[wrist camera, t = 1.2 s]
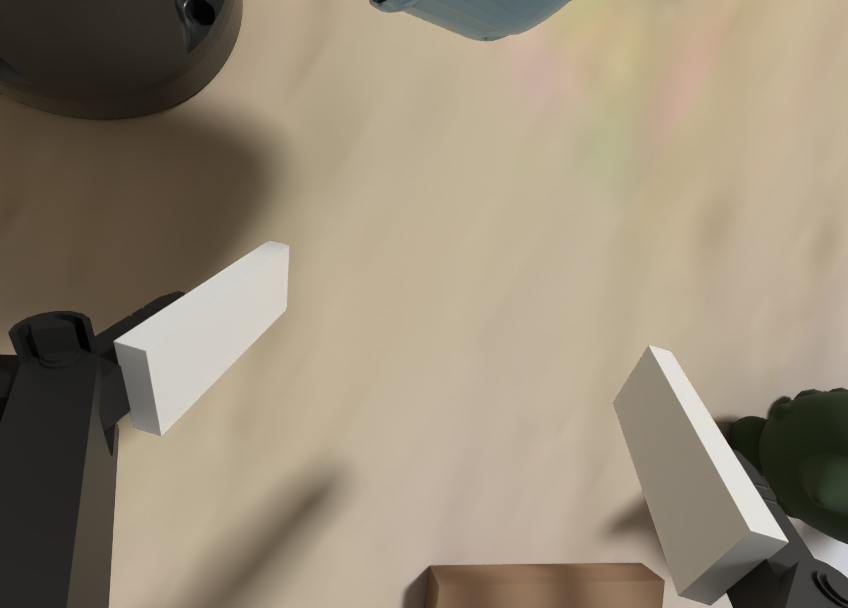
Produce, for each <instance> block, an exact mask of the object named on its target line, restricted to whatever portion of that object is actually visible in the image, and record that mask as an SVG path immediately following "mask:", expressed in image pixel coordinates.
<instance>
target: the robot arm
mask: <svg viewBox="0 0 848 608" xmlns="http://www.w3.org/2000/svg"><path fill="white" fill-rule="evenodd" d="M570 1H571V0H369V2H370V4H371V5H372V6H373V7H375V8H376V9H378V10H380V11H383V12H388V13H389V12H400V11H404V12H406V13H408V14H411V15H413V16H416V17H418V18H421V19H423V20H425V21H428V22H430V23H433V24H435V25H438V26H440V27H442V28H445V29H447V30H450V31H452V32H455V33H457V34H459V35H462V36H464V37H467V38H470V39H473V40H480V41H494V40H497V39H500V38H503V37H506V36H509V35H515V34H520V33H523V32H525V31H528V30H529V29H531V28H533V27H535V26H537V25H538V24H540V23H541V22H543V21H544V20H546V19H548V18H549V17H550V16H552V15H553V14H555V13H556V12H557V11H558V10H560V9H561V8H562V7H563V6H565V5H566V4H567V3H568V2H570ZM242 8H243V0H0V93H2V94H4V95H6V96H8V97H10V98H12V99H14V100H16V101H19V102H21V103H24V104H26V105H29V106H32V107H35V108H38V109H41V110H44V111H48V112H52V113H55V114H60V115H65V116H70V117H77V118H86V119H123V118H131V117H137V116H142V115H147V114H151V113H154V112H158V111H161V110H163V109H166V108H169V107H171V106H173V105H176V104H178V103H180V102H182V101H184V100H185V99H187V98H189V97H190V96H192V95H193V94H195V93H196V92H198V91H199V90H200V89H202V88H203V87H204V86H205V85H206V84H207V83H209V82H210V81H211V80H212V79H213V78H214V76H215V75H216V74H217V73H218V72H219V71H220V69H221V68H222V67H223V65H224V64H225V62H226V61H227V59H228V58H229V56H230V54H231V52H232V50H233V48H234V45H235V43H236V40H237V37H238V34H239V30H240V26H241V19H242ZM288 262H289V245H285V244H282V243H278V242H274V241H271V240H269V241H267V242H266V243H264V244H262V245H261V246H259V247H258V248H256V249H255V250H253V251H252V252H250V253H249V254H247V255H246V256H244V257H242V258H241V259H239V260H238V261H236V262H235V263H233V264H232V265H230V266H229V267H227V268H225V269H224V270H222V271H221V272H219V273H218V274H216V275H215V276H213V277H212V278H210V279H209V280H207V281H205V282H204V283H202V284H201V285H199V286H198V287H196V288H195V289H193V290H192V291H190V292H189V293H183V292H180V291H178V292H174V293H171V294H168V295H165V296H162V297H159V298H157V299H156V300H154V301H152V302H151V303H149V304H147V305H146V306H145V307H144V309H143V308H141V309H139V310H138V311H136V312H134V313H133V314H132V316H128V317H126V318H124V319H123V320H121V321H119V322H118V323H116V324H115V325H113V326H111V327H110V328H108V329H106V330H105V331H103V332H101V333H100V334H98V335H96V336H94V333H93V329H92V325H91V321H90V318H88V317H87V316H85V315H84V314H82V313H77V312H72V311H54V312H48V313H42V314H38V315H35V316H32V317H29V318H26V319H24V320H22V321H21V322H19V323H17V324H15V325H14V326H13V327H12V328H11V330H10V331H9V332H8V333H9V336H10V338H11V341H12V343H13V346H14V349H15V351H16V354H17V355H1V354H0V608H109V593H110V576H111V558H112V541H113V524H114V507H115V490H116V473H117V456H118V439H119V429H118V425H117V422H118V421H119V420H120V419H121V418H122V417H123V416H125V415H126V414H127V413H128V412H129V411H130V415H131V419H132V424H133V427H134V428H137V429H140V430H143V431H146V432H150V433H153V434H156V435H159V436H162V435H163V434H164V433H165V432H166V431H167V430H168V429H169V428H170V427H171V426H172V425H173V424H174V423H175V422H176V421H177V420H178V419H179V418H180V417H181V416H182V415H183V414H184V413H185V412H186V411H187V410H188V409H189V408H190V407H191V406H192V405H193V403H194V402H195V401H196V400H197V399H198V398H199V397H200V396H201V395H202V394H203V393H204V392H205V391H206V390H207V389H208V388H209V387H210V386H211V385H212V384H213V383H214V382H215V381H216V380H217V379H218V378H219V377H220V376H221V375H222V374H223V373H224V372H225V371H226V370H227V369H228V368H229V367H230V366H231V365H232V364H233V363H234V362H235V361H236V360H237V359H238V358H239V357H240V356H241V355H242V354H243V353H244V352H245V351H246V350H247V349H248V348H249V347H250V346H251V345H252V344H253V343H254V342H255V341H256V340H257V339H258V338H259V337H260V335H261V334H262V333H263V332H264V331H265V330H266V329H267V328H268V327H269V326H270V325H271V324H272V323H273V322H274V321H275V320H276V319H277V318H278V317H279V316H280V315H281V314H282V313H283V312H284V311H285V310H286V309H287V286H288ZM613 404H614V407H615V410H616V413H617V416H618V419H619V422H620V425H621V428H622V431H623V434H624V437H625V440H626V443H627V446H628V449H629V452H630V455H631V458H632V461H633V464H634V466H635V469H636V472H637V475H638V478H639V481H640V484H641V487H642V490H643V493H644V496H645V499H646V502H647V505H648V508H649V511H650V514H651V517H652V520H653V523H654V526H655V529H656V532H657V535H658V538H659V540H660V543H661V546H662V549H663V552H664V555H665V558H666V561H667V564H668V567H669V570H670V573H671V576H672V579H673V582H674V585H675V588H676V591H677V594H678V596H681V597H684V598H688V599H691V600H694V601H697V602H701V603H704V604H707V605H710V606H711V605H712V604H713V603H714V602H716V601H717V600H718V599H719V598H720V597H722V596H723V595H724V594H725V593H727V595H728V597H729V600H730V602H731V604H732V606H733V608H848V578H847V577H846V576H844V575H843V574H842V573H841V572H839V571H838V570H836V569H835V568H833V567H831V566H830V565H828V564H827V563H825V562H822V561H820V560H817V559H814V557H813V556H812V554H811V553H810V551H809V550H808V548H807V546H806V545H805V543H804V542H803V540H802V539H801V537H800V536H799V534H798V533H797V531H796V530H795V528H794V527H793V525H792V523H791V522H790V520H789V519H788V517H787V516H786V514H785V513H784V511H783V510H782V508H781V507H780V505H778V504H776V502H777V501H776V499H775V497H774V496H773V494H772V493H771V491H770V490H768V489H767V485H766V484H765V482H764V481H763V479H762V478H761V476H760V474H759V473H758V471H757V470H756V468H755V467H754V466H753V465H752V464H751V463H750V462H749V461H748V460H747V459H746V458H745V457H744V456H743V455H742V454H741V453H740V452H739V451H736V450H733V449H731V448H730V446H729V445H728V443H727V441H726V440H725V438H724V437H723V435H722V433H721V432H720V430H719V429H718V427H717V425H716V424H715V422H714V420H713V419H712V417H711V416H710V414H709V412H708V411H707V409H706V408H705V406H704V404H703V403H702V401H701V400H700V398H699V396H698V395H697V393H696V391H695V390H694V388H693V387H692V385H691V383H690V382H689V380H688V379H687V377H686V375H685V374H684V372H683V371H682V369H681V367H680V366H679V364H678V362H677V361H676V359H675V358H674V356H673V354H672V353H671V351H667V350H664V349H660V348H656V347H653V346H649V345H648V347H647V349H646V350H645V352H644V354H643V355H642V357H641V358H640V360H639V362H638V363H637V365H636V366H635V368H634V370H633V371H632V373H631V374H630V376H629V378H628V379H627V381H626V382H625V384H624V386H623V387H622V389H621V390H620V392H619V394H618V395H617V397H616V398H615V400H614V402H613Z"/></svg>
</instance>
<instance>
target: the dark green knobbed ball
mask: <svg viewBox="0 0 848 608" xmlns="http://www.w3.org/2000/svg"><path fill="white" fill-rule="evenodd" d="M771 414H772V415H771V417H770V418H769V420H768V421H767V420H766V419H764V418H760V417H756V416H747V417H744V418H741V419H739V420H738V421H737V422H736V423H735V424H734V425H733V428H732V431H731V448H732V449H733V450H736V451H739V452H740V453H741V454H742V455H743V456H744V457H745V458H746V459H747V460H748V461H749V462H750V463H751V464H752V465H753V466H754V467H755V468H756V470H757V471H758V473H759V474H760V476H765V477H766V479H767V481H768V483H769V485H770V487H771V489H772V490H773V492H774V494H775V495H776V501H777V502H776V503H777V504H778V505H780V507H781V508H782V510H783V511H784V513H785V514H786V515H787V516H789V517H792V518H797V519H800V520H802V521H803V522H805V523H806V524H808V525H810V526H811V527H813V528H815V529H817V530H818V531H820V532H822V533H824V534H826V535H828V536H830V537H832V538H834V539H836V540H838V541H841V542H843V543H846V544H848V390H847V389H844V388H837V389H832V390H831V391H829V392H822V391H818V390H815V389H812V390H806V391H801V392H800V393H799V394H798V395H797V396H796V397H795V398H794V400H792V401H790V402H788V403H786V404H779V405H777V406H775V407H774V408H773V410H772V413H771Z"/></svg>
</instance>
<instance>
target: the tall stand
mask: <svg viewBox="0 0 848 608" xmlns="http://www.w3.org/2000/svg"><path fill="white" fill-rule="evenodd" d="M664 582H665V580H663V579H662V578H661V577H659V576H658V575H657V574H655V573H654V572H653V571H651V570H650V569H649V568H647V567H646V566H645V565H643V564H642V563H594V564H518V565H442V566H430V568H429V576H428V583H427V591H426V599H425V606H424V608H662V604H663V593H664Z"/></svg>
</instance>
